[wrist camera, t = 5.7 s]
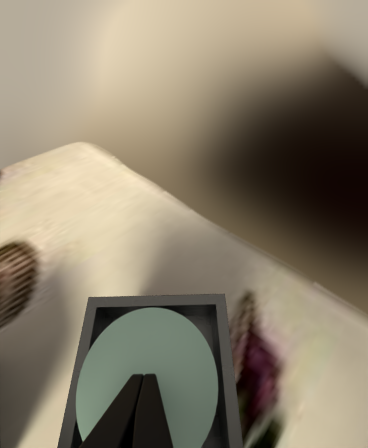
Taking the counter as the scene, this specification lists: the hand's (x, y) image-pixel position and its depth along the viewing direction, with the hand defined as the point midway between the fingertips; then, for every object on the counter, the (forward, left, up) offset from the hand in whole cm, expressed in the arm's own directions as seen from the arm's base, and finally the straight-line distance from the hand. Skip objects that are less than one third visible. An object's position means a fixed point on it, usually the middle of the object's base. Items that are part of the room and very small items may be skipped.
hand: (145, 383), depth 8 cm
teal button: (0, 0, -3) cm, 3 cm away
